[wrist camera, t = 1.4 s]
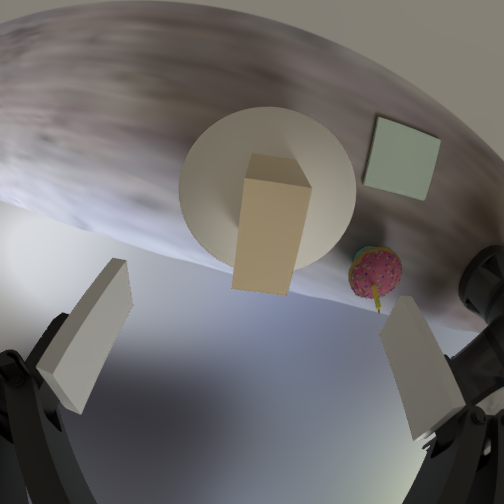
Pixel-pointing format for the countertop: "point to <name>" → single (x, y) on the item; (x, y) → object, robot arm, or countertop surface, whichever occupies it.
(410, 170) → the mat
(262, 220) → the lid
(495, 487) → the robot arm
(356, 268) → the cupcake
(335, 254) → the countertop surface
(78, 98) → the countertop surface
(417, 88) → the countertop surface
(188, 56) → the countertop surface
